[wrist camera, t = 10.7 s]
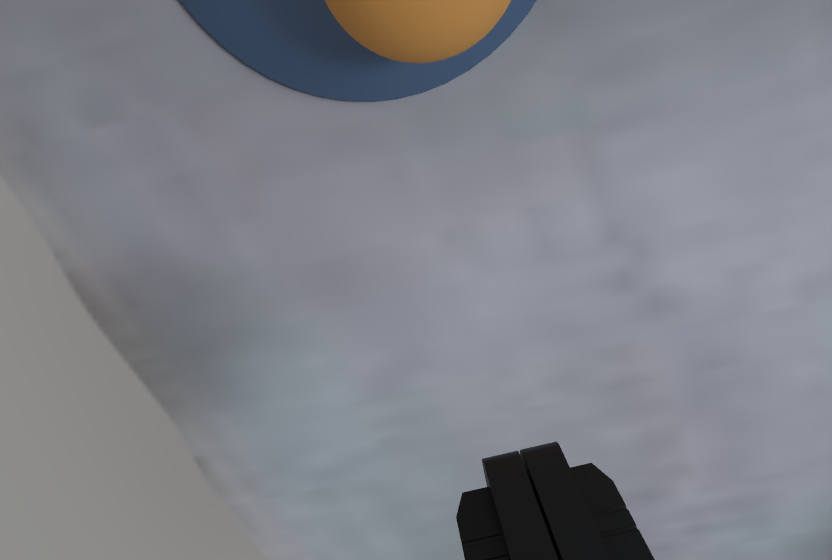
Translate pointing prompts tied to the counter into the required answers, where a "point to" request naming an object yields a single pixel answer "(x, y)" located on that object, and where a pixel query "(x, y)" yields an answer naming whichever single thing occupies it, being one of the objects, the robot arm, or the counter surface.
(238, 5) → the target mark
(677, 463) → the counter surface
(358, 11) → the ball
